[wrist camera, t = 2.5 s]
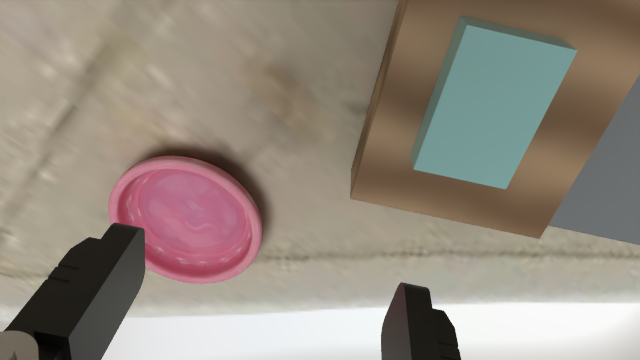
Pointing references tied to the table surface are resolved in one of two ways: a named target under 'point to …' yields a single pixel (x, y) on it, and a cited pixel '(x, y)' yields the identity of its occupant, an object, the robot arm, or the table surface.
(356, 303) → the table surface
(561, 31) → the wooden block
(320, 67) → the table surface
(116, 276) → the robot arm
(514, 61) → the teal rectangular block
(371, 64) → the table surface
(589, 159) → the mat
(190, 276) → the pink round bowl
